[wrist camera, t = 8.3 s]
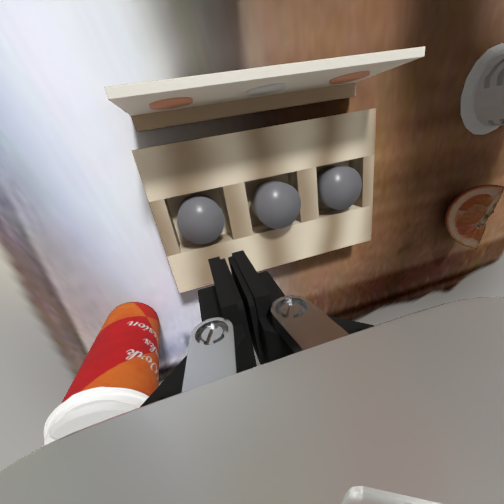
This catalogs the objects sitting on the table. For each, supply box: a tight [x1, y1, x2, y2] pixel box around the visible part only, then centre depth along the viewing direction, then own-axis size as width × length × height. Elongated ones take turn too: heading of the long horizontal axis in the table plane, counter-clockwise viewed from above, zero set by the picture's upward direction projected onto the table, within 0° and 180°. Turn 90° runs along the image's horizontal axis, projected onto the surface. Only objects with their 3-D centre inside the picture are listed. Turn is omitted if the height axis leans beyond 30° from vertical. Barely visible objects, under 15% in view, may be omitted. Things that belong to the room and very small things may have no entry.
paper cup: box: [44, 302, 159, 446], centre depth 24 cm, size 8×8×14 cm
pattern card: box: [104, 46, 425, 132], centre depth 20 cm, size 22×3×9 cm, turn 99°
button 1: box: [177, 194, 225, 244], centre depth 25 cm, size 4×4×2 cm
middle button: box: [251, 180, 301, 229], centre depth 25 cm, size 4×4×2 cm
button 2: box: [317, 166, 362, 210], centre depth 27 cm, size 4×4×2 cm
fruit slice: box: [445, 185, 504, 249], centre depth 35 cm, size 8×7×5 cm
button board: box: [132, 108, 376, 293], centre depth 27 cm, size 23×14×4 cm, turn 99°
